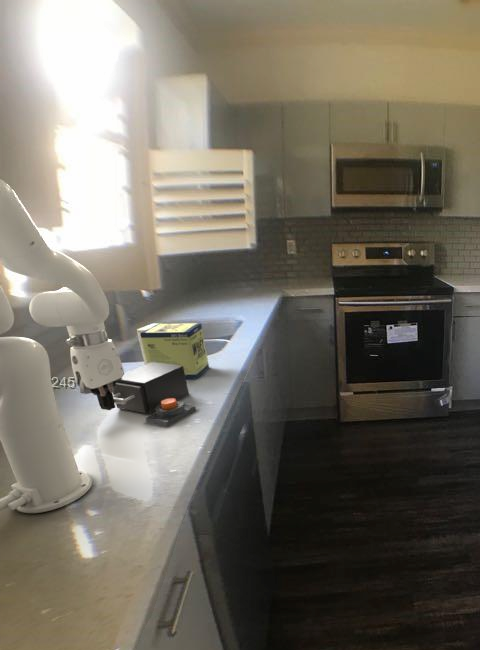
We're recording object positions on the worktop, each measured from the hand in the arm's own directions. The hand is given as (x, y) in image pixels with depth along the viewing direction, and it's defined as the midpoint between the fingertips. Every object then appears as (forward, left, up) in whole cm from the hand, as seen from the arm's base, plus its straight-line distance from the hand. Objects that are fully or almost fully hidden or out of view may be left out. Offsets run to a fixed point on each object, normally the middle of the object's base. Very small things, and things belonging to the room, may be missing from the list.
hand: (108, 408), depth 116 cm
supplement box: (+40, +26, -4) cm, 48 cm away
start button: (+8, -12, -1) cm, 15 cm away
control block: (+8, -12, -4) cm, 15 cm away
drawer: (+10, 0, -3) cm, 11 cm away
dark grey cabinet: (+14, 0, -4) cm, 14 cm away
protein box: (+34, +10, -4) cm, 36 cm away
